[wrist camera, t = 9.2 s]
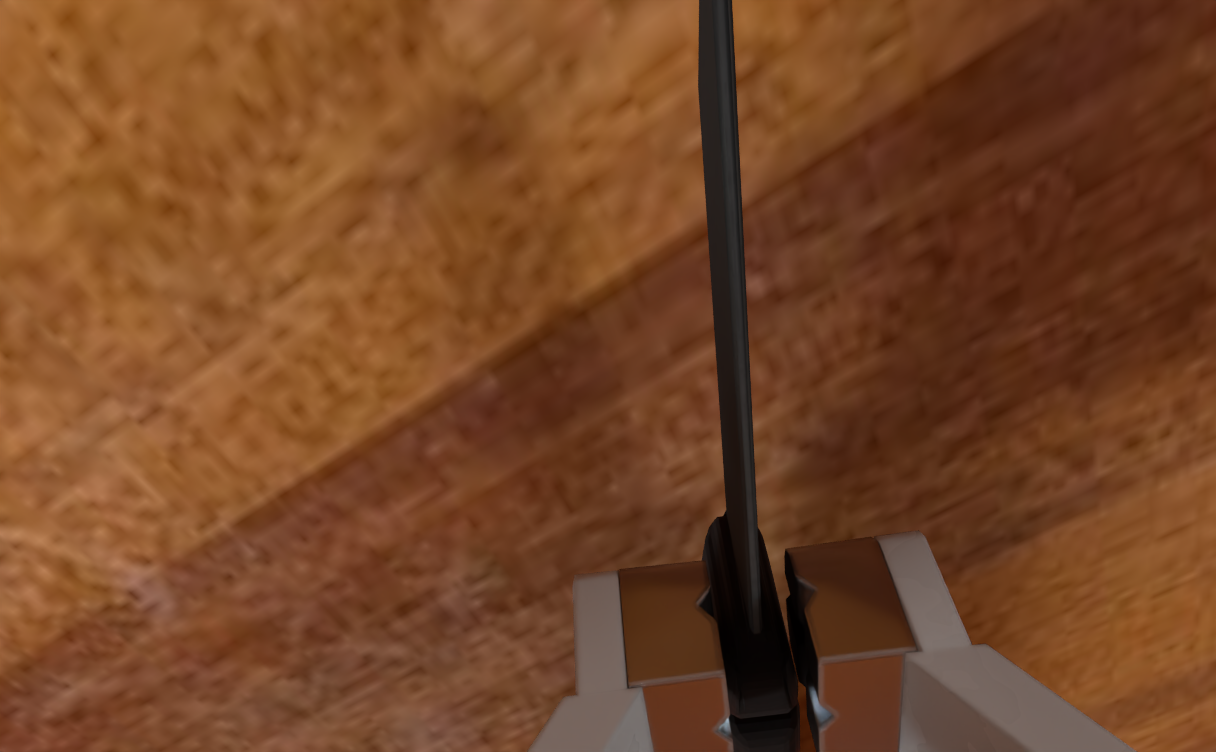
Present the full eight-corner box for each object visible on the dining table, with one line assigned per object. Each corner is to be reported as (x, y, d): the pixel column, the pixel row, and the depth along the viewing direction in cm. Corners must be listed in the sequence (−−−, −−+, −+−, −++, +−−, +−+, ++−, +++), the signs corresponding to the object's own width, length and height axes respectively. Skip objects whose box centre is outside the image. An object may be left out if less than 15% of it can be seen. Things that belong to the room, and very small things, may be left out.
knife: (604, -296, 8) (633, -240, 6) (721, -314, 8) (800, -265, 6) (722, 804, 18) (749, 983, 16) (773, 798, 18) (807, 977, 16)
